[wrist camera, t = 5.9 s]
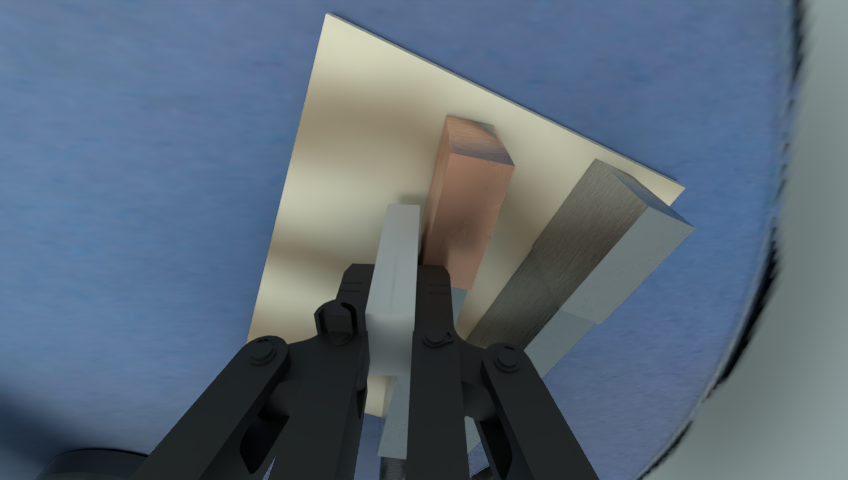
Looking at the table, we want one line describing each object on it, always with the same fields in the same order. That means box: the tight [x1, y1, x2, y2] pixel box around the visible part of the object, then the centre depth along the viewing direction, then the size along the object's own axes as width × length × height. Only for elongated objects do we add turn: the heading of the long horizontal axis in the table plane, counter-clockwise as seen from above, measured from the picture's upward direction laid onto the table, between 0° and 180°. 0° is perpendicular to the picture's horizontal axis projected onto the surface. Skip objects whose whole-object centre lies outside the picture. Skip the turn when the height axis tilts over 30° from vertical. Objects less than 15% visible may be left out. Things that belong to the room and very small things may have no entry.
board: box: [246, 13, 685, 417], centre depth 21 cm, size 23×17×1 cm
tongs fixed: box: [379, 158, 695, 480], centre depth 19 cm, size 23×4×5 cm, turn 156°
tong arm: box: [377, 115, 515, 459], centre depth 17 cm, size 18×2×5 cm, turn 169°
